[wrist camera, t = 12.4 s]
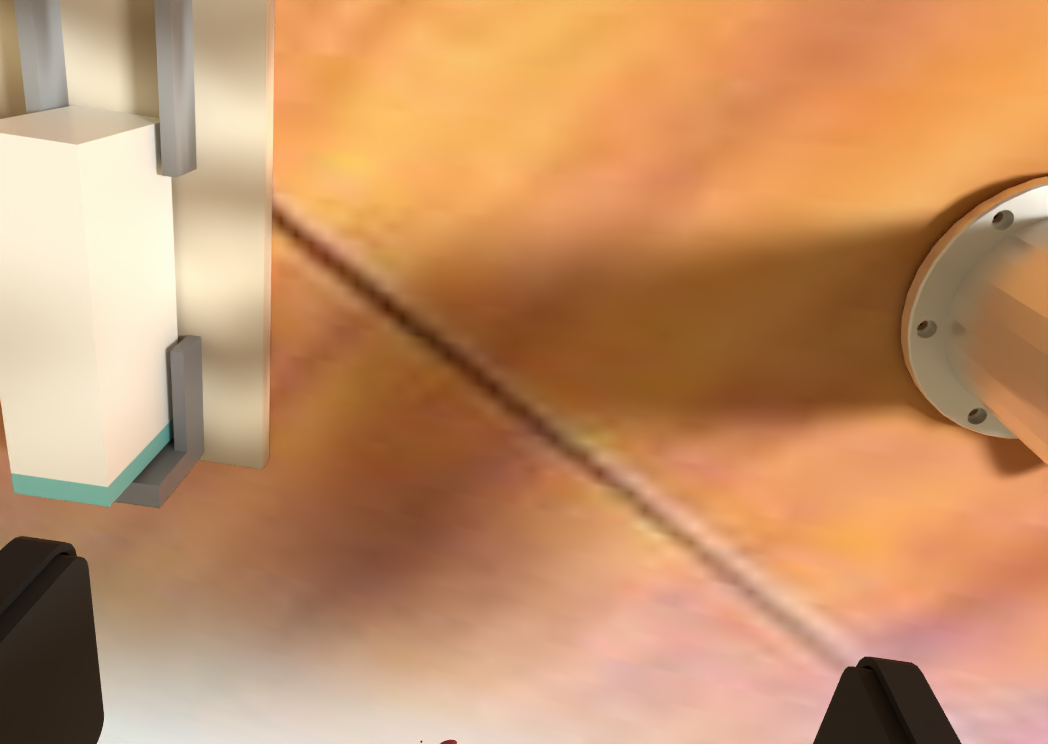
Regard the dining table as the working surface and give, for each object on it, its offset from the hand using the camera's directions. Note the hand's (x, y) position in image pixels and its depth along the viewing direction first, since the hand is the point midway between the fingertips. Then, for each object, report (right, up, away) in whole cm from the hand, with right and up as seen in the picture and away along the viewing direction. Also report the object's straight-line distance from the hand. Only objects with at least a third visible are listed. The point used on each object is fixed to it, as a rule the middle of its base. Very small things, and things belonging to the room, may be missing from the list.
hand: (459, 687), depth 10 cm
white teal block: (-17, +8, +27) cm, 33 cm away
